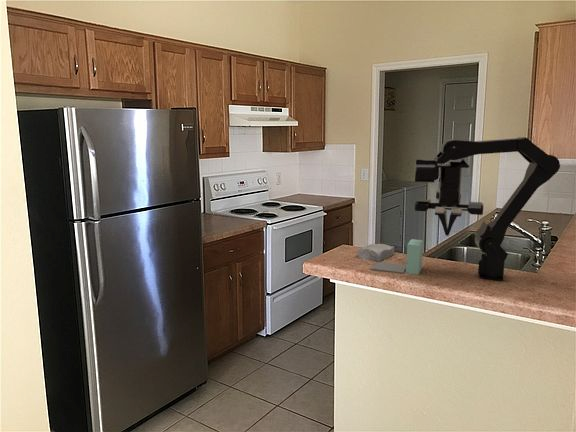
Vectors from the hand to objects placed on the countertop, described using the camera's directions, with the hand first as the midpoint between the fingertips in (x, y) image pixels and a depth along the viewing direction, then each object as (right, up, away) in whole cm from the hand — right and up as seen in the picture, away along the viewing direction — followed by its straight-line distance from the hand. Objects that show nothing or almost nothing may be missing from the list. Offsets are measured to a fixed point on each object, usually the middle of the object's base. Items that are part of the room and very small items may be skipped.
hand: (447, 235), depth 142 cm
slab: (-8, -11, +6) cm, 15 cm away
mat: (-15, -11, +8) cm, 20 cm away
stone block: (-18, -8, +22) cm, 30 cm away
